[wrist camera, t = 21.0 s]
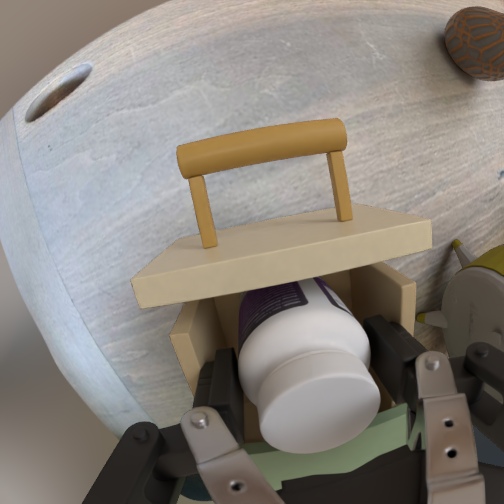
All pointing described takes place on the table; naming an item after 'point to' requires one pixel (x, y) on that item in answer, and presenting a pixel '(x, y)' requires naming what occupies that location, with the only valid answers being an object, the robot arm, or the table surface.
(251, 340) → the pill bottle
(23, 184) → the table surface
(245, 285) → the drawer
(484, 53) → the vase
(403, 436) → the cabinet
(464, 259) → the alarm clock
